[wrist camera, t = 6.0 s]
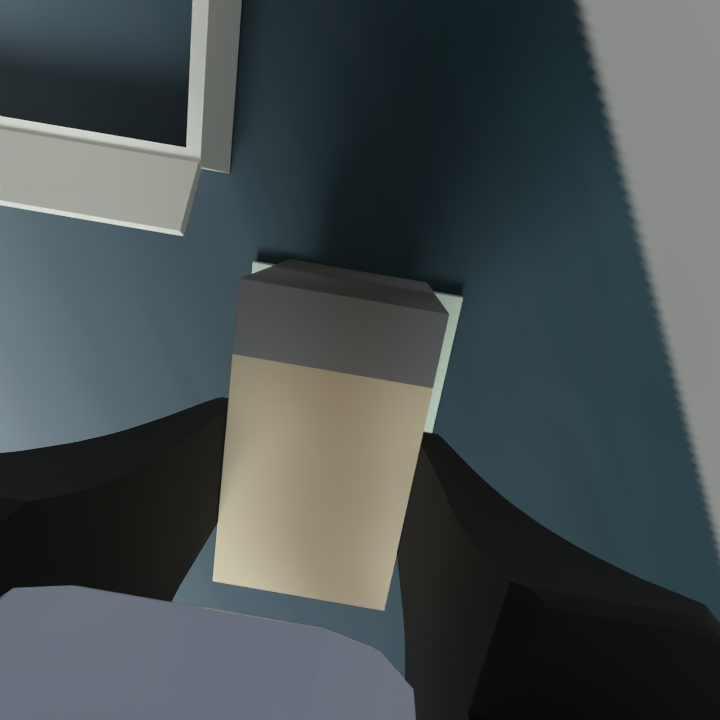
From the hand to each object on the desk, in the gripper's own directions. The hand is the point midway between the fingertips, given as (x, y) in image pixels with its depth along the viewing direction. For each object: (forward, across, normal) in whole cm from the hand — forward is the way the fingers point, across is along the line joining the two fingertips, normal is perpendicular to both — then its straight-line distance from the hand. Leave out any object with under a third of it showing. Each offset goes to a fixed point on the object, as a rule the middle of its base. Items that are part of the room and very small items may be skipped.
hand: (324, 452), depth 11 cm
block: (+3, 0, 0) cm, 4 cm away
